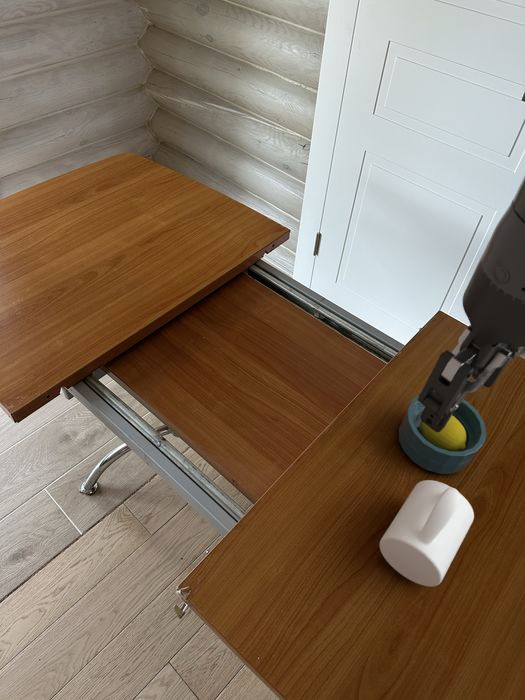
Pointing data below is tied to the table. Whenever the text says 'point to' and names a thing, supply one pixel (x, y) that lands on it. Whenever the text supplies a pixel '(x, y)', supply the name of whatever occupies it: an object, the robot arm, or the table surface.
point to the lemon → (446, 435)
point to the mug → (427, 532)
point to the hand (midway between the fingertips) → (457, 401)
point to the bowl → (438, 457)
